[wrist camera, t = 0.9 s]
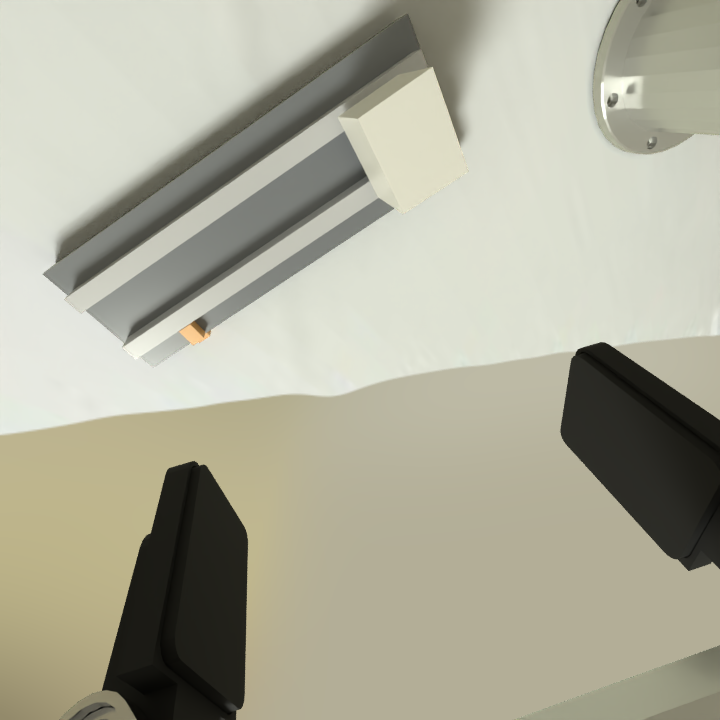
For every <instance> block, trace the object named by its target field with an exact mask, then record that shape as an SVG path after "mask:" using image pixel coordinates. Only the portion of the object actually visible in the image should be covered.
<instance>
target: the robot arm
mask: <svg viewBox="0 0 720 720" xmlns="http://www.w3.org/2000/svg"><path fill="white" fill-rule="evenodd" d="M593 101H594V111H595V115H596V118H597V121H598V125H599V127H600V129H601V131H602V132H603V134H604V136H605V138H606V139H607V140H608V141H609V142H610V143H611V144H612V145H613V146H615V147H617V148H619V149H621V150H623V151H625V152H630V153H636V154H654V153H659V152H663V151H666V150H668V149H670V148H673V147H675V146H677V145H679V144H680V143H682V142H684V141H685V140H687V139H688V138H690V137H691V136H692V135H694V134H706V135H720V0H620V2H619V3H618V5H617V7H616V8H615V11H614V13H613V15H612V17H611V19H610V21H609V24H608V26H607V28H606V30H605V33H604V36H603V39H602V42H601V45H600V48H599V51H598V56H597V61H596V66H595V71H594V81H593ZM561 436H562V439H563V440H564V442H565V443H566V445H567V446H568V447H569V448H570V449H571V450H572V451H573V452H574V453H575V454H576V456H577V457H578V458H579V459H580V460H581V461H582V462H583V463H584V464H585V466H586V467H587V468H588V469H589V470H590V471H591V472H592V473H593V474H594V475H595V477H596V478H597V479H598V480H599V481H600V482H601V483H602V484H603V485H604V486H605V487H606V489H607V490H608V491H609V492H610V493H611V494H612V495H613V496H614V497H615V498H616V499H617V501H618V502H619V503H620V504H621V505H622V506H623V507H624V508H625V510H626V511H627V512H628V513H629V514H630V515H631V516H632V517H633V518H634V519H635V521H636V522H638V524H639V525H640V526H641V527H642V528H643V529H644V530H645V531H646V533H647V534H648V535H649V536H650V537H651V538H652V539H653V540H654V541H655V542H656V544H657V545H658V546H659V547H660V548H661V549H662V550H663V551H664V552H665V553H666V554H667V555H668V556H670V557H671V558H673V559H678V560H679V561H680V562H681V563H682V564H683V565H684V567H685V568H686V569H687V570H688V571H690V570H693V569H696V568H699V567H702V566H705V565H708V564H711V562H713V563H714V564H715V565H716V566H717V567H718V568H719V569H720V420H719V419H717V418H716V417H714V416H713V415H711V414H710V413H709V412H707V411H706V410H704V409H703V408H701V407H700V406H698V405H697V404H695V403H694V402H692V401H691V400H689V399H688V398H686V397H685V396H684V395H682V394H680V393H679V392H678V391H676V390H675V389H673V388H672V387H670V386H669V385H667V384H666V383H665V382H663V381H662V380H660V379H659V378H657V377H656V376H654V375H653V374H651V373H650V372H648V371H647V370H645V369H644V368H643V367H641V366H640V365H638V364H637V363H635V362H634V361H632V360H631V359H629V358H628V357H626V356H625V355H623V354H622V353H620V352H619V351H617V350H616V349H615V348H613V347H612V346H610V345H609V344H607V343H604V342H600V343H597V344H593V345H590V346H586V347H583V348H580V349H578V350H577V352H576V355H575V356H574V357H573V358H572V360H571V365H570V371H569V378H568V384H567V391H566V398H565V404H564V410H563V417H562V423H561ZM247 557H248V538H247V533H246V530H245V527H244V526H243V524H242V522H241V521H240V519H239V518H238V516H237V514H236V513H235V511H234V509H233V508H232V506H231V505H230V503H229V501H228V500H227V498H226V497H225V495H224V493H223V492H222V490H221V488H220V487H219V485H218V484H217V482H216V480H215V479H214V477H213V475H212V474H211V472H210V471H209V469H208V467H207V466H206V465H200V466H199V465H198V463H197V462H195V461H192V462H189V463H185V464H182V465H178V466H175V467H172V468H169V469H168V470H167V472H166V475H165V480H164V483H163V487H162V491H161V495H160V499H159V503H158V507H157V511H156V515H155V519H154V523H153V527H152V531H151V534H148V535H147V536H146V537H145V538H144V540H143V541H142V544H141V547H140V549H139V553H138V557H137V561H136V564H135V568H134V572H133V576H132V579H131V583H130V587H129V591H128V594H127V598H126V602H125V606H124V609H123V614H122V617H121V621H120V625H119V628H118V632H117V636H116V640H115V643H114V647H113V651H112V655H111V658H110V663H109V666H108V670H107V674H106V677H105V681H104V685H103V689H102V691H101V692H96V693H92V694H91V695H89V696H87V697H85V698H84V699H82V700H80V701H78V702H77V703H76V704H75V705H74V706H73V707H72V708H71V709H69V710H68V711H67V712H66V713H65V714H64V715H63V716H62V717H61V718H60V720H236V710H239V709H241V708H242V706H243V703H244V694H245V651H246V649H245V648H246V605H247V603H246V602H247ZM515 720H720V646H717V647H714V648H712V649H709V650H706V651H703V652H700V653H698V654H695V655H692V656H689V657H687V658H684V659H681V660H678V661H675V662H672V663H670V664H667V665H664V666H661V667H659V668H656V669H653V670H650V671H648V672H645V673H642V674H639V675H636V676H633V677H631V678H628V679H625V680H622V681H620V682H617V683H614V684H611V685H609V686H606V687H603V688H600V689H598V690H595V691H592V692H590V693H587V694H584V695H581V696H578V697H576V698H573V699H570V700H567V701H564V702H562V703H559V704H556V705H553V706H551V707H548V708H545V709H543V710H540V711H537V712H534V713H532V714H529V715H526V716H523V717H521V718H518V719H515Z"/></svg>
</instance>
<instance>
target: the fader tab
mask: <svg viewBox="0 0 720 720" xmlns="http://www.w3.org/2000/svg"><path fill="white" fill-rule="evenodd" d="M338 119H339V121H340V123H341V125H342V127H343V129H344V131H345V133H346V135H347V137H348V139H349V141H350V143H351V145H352V147H353V149H354V151H355V153H356V155H357V157H358V159H359V161H360V163H361V165H362V167H363V169H364V171H365V173H366V175H367V177H368V179H369V181H370V183H371V185H372V187H373V189H374V190H375V192H376V194H377V196H378V198H380V199H381V200H383V201H384V202H386V203H387V204H389V205H390V206H392V207H393V208H395V209H396V210H398V211H399V212H401V213H402V214H405V213H406V212H408V211H409V210H411V209H412V208H414V207H415V206H417V205H418V204H420V203H421V202H423V201H424V200H426V199H427V198H429V197H431V196H432V195H434V194H435V193H437V192H438V191H440V190H441V189H443V188H444V187H446V186H447V185H449V184H450V183H452V182H453V181H455V180H456V179H458V178H459V177H461V176H462V175H464V174H465V173H467V172H469V170H468V167H467V164H466V162H465V159H464V156H463V153H462V150H461V147H460V144H459V141H458V138H457V136H456V133H455V130H454V127H453V124H452V121H451V118H450V115H449V112H448V110H447V107H446V104H445V101H444V98H443V95H442V92H441V89H440V86H439V84H438V81H437V78H436V75H435V72H434V69H433V67H429V68H425V69H421V70H416V71H412V72H408V73H403V74H399V75H397V76H395V77H394V78H393V79H391V80H390V81H388V82H387V83H385V84H384V85H383V86H381V87H380V88H378V89H377V90H375V91H374V92H373V93H371V94H370V95H368V96H367V97H365V98H364V99H363V100H361V101H360V102H358V103H357V104H355V105H354V106H353V107H351V108H350V109H348V110H347V111H345V112H344V113H342V114H341V115H340V116H338Z"/></svg>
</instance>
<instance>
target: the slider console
mask: <svg viewBox="0 0 720 720" xmlns="http://www.w3.org/2000/svg"><path fill="white" fill-rule="evenodd" d="M425 68H428V66H427V63H426V60H425V57H424V54H423V51H422V49H420V46H419V44H418V41H417V38H416V35H415V32H414V30H413V27H412V24H411V21H410V18H409V15H408V14H406V15H404V16H403V17H401V18H399V19H398V20H396V21H395V22H393V23H392V24H391V25H389V26H388V27H386V28H385V29H384V30H382V31H381V32H379V33H378V34H377V35H375V36H374V37H372V38H371V39H370V40H368V41H367V42H365V43H364V44H363V45H361V46H360V47H358V48H357V49H356V50H354V51H353V52H351V53H350V54H349V55H347V56H346V57H344V58H343V59H342V60H340V61H339V62H337V63H336V64H335V65H333V66H332V67H330V68H329V69H328V70H326V71H325V72H323V73H322V74H321V75H319V76H318V77H316V78H315V79H314V80H312V81H311V82H309V83H308V84H307V85H305V86H304V87H302V88H301V89H300V90H298V91H297V92H295V93H294V94H293V95H291V96H290V97H288V98H287V99H285V100H284V101H283V102H281V103H280V104H278V105H277V106H276V107H274V108H273V109H271V110H270V111H269V112H267V113H266V114H264V115H263V116H262V117H260V118H259V119H257V120H256V121H255V122H253V123H252V124H250V125H249V126H248V127H246V128H245V129H243V130H242V131H241V132H239V133H238V134H236V135H235V136H234V137H232V138H231V139H229V140H228V141H227V142H225V143H224V144H222V145H221V146H220V147H218V148H217V149H215V150H214V151H213V152H211V153H210V154H208V155H207V156H206V157H204V158H203V159H201V160H200V161H199V162H197V163H196V164H194V165H193V166H192V167H190V168H189V169H187V170H186V171H185V172H183V173H182V174H180V175H179V176H178V177H176V178H175V179H173V180H172V181H171V182H169V183H168V184H166V185H165V186H164V187H162V188H161V189H159V190H158V191H157V192H155V193H154V194H152V195H151V196H150V197H148V198H147V199H145V200H144V201H143V202H141V203H140V204H138V205H137V206H136V207H134V208H133V209H131V210H130V211H129V212H127V213H126V214H124V215H123V216H122V217H120V218H119V219H117V220H116V221H115V222H113V223H112V224H110V225H109V226H108V227H106V228H105V229H103V230H102V231H101V232H99V233H98V234H96V235H95V236H94V237H92V238H91V239H89V240H88V241H87V242H85V243H84V244H82V245H81V246H80V247H78V248H77V249H75V250H74V251H73V252H71V253H70V254H68V255H67V256H66V257H64V258H63V259H61V260H60V261H59V262H57V263H56V264H54V265H53V266H52V267H51V268H49V269H48V270H47V271H46V272H44V273H43V275H44V276H45V277H47V278H48V279H49V280H50V281H51V282H53V283H54V284H55V285H56V286H57V287H58V288H60V289H61V290H62V291H63V292H64V293H66V294H67V295H68V296H67V297H66V298H65V299H64V300H65V301H66V302H68V303H69V304H70V305H71V306H72V307H74V308H75V309H76V310H77V311H78V312H79V313H83V312H84V311H85V310H86V311H87V312H88V313H89V314H90V315H91V316H93V317H94V318H95V319H96V320H97V321H99V322H100V323H101V324H102V325H103V326H104V327H106V328H107V329H108V330H109V331H110V332H112V333H113V334H114V335H115V336H116V337H117V338H119V339H120V340H121V341H122V342H123V343H124V345H123V347H122V348H123V349H124V350H125V351H126V352H127V353H129V354H130V355H131V356H132V357H133V358H135V359H138V358H139V357H141V358H142V359H143V360H145V361H146V362H147V363H148V364H149V365H151V366H152V367H153V368H154V367H155V366H157V365H158V364H160V363H161V362H163V361H164V360H166V359H167V358H169V357H170V356H172V355H173V354H175V353H176V352H178V351H179V350H181V349H182V348H184V347H185V346H187V345H189V344H190V343H191V344H192V345H195V344H196V343H198V342H199V343H200V342H202V341H203V340H205V339H206V338H208V337H209V336H210V333H211V329H213V328H214V327H216V326H217V325H219V324H220V323H222V322H223V321H225V320H226V319H228V318H229V317H231V316H232V315H234V314H235V313H237V312H238V311H240V310H241V309H243V308H244V307H246V306H248V305H249V304H251V303H252V302H254V301H255V300H257V299H258V298H260V297H261V296H263V295H264V294H266V293H267V292H269V291H270V290H272V289H273V288H275V287H276V286H278V285H279V284H281V283H282V282H284V281H285V280H287V279H288V278H290V277H291V276H293V275H294V274H296V273H297V272H299V271H300V270H302V269H303V268H305V267H307V266H308V265H310V264H311V263H313V262H314V261H316V260H317V259H319V258H320V257H322V256H323V255H325V254H326V253H328V252H329V251H331V250H332V249H334V248H335V247H337V246H338V245H340V244H341V243H343V242H344V241H346V240H347V239H349V238H350V237H352V236H353V235H355V234H356V233H358V232H359V231H361V230H362V229H364V228H366V227H367V226H369V225H370V224H372V223H373V222H375V221H376V220H378V219H379V218H381V217H382V216H384V215H385V214H387V213H388V212H390V211H391V210H393V209H394V208H393V207H392V206H390V205H389V204H387V203H386V202H384V201H383V200H381V199H380V198H378V196H377V194H376V192H375V190H374V189H373V187H372V185H371V183H370V181H369V179H368V177H367V175H366V173H365V171H364V169H363V167H362V165H361V163H360V161H359V159H358V157H357V155H356V153H355V151H354V149H353V147H352V145H351V143H350V141H349V139H348V137H347V135H346V133H345V131H344V129H343V127H342V125H341V123H340V121H339V119H338V116H340V115H341V114H342V113H344V112H345V111H347V110H348V109H350V108H351V107H353V106H354V105H355V104H357V103H358V102H360V101H361V100H363V99H364V98H365V97H367V96H368V95H370V94H371V93H373V92H374V91H375V90H377V89H378V88H380V87H381V86H383V85H384V84H385V83H387V82H388V81H390V80H391V79H393V78H394V77H395V76H397V75H399V74H403V73H408V72H412V71H416V70H421V69H425Z"/></svg>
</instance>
